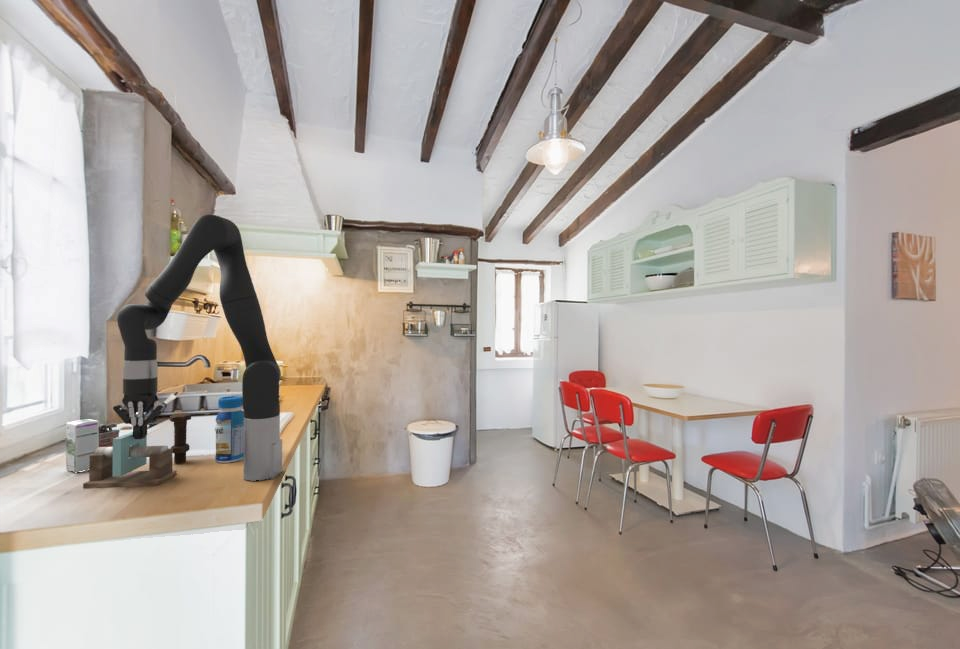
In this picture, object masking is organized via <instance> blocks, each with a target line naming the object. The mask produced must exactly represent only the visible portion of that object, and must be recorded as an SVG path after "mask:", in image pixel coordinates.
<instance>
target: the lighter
mask: <svg viewBox="0 0 960 649" xmlns="http://www.w3.org/2000/svg"><path fill="white" fill-rule="evenodd" d="M117 424H118V423H116V422H114V423H108V424H106V425H105V424H103V423H102V424H101V423H100V424H99V425H98V430H99V447H113V439H114V438H117V437H120V429H114V428H117V427H118V425H117Z"/></svg>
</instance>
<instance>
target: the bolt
mask: <svg viewBox="0 0 960 649" xmlns="http://www.w3.org/2000/svg"><path fill="white" fill-rule="evenodd" d="M191 414H192V413H184V412H183V413H176V414H172V415H170V416H169V421H170V422H171V423H173V430H174V431H173V434H174V435H173V445H172V446H170V449H172V448H173V453H172V454H173V464H177V465H179V464H184V463H185V462H187V452H189V450H190V445H189V443H187V430H188V429H187V424H188V421H190V420H192V415H191Z"/></svg>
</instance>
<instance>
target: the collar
mask: <svg viewBox="0 0 960 649" xmlns="http://www.w3.org/2000/svg"><path fill="white" fill-rule="evenodd" d="M130 446H148V445H147V436H145V438H143V439H135V437H133V431H132V432H129V433H125V434H123V435H119V437H117V438H114V439H113V476H112V477H114V476H122V475H124V474H127V473H129V472H131V471H136V470H137V469H139V468H141V467H143V466H145V465H147V457H135V458H129V447H130Z"/></svg>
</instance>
